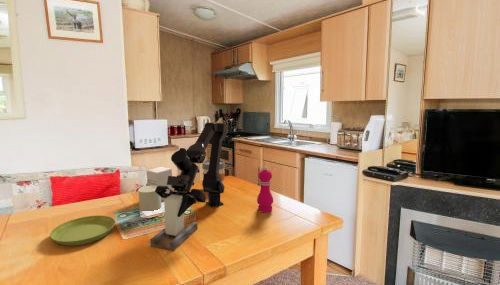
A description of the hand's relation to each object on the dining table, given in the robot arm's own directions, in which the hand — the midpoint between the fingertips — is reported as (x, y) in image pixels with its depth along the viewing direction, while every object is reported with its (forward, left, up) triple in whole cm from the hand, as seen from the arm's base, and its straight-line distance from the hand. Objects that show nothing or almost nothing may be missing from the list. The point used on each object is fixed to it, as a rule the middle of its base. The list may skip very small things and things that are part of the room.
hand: (172, 215), depth 97 cm
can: (-27, -2, -9) cm, 28 cm away
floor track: (-1, +1, -9) cm, 9 cm away
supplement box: (-45, +7, -9) cm, 46 cm away
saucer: (-22, -27, -9) cm, 36 cm away
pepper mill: (-3, +42, -9) cm, 44 cm away
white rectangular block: (-1, +1, -7) cm, 7 cm away
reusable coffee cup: (-43, +36, -9) cm, 57 cm away
